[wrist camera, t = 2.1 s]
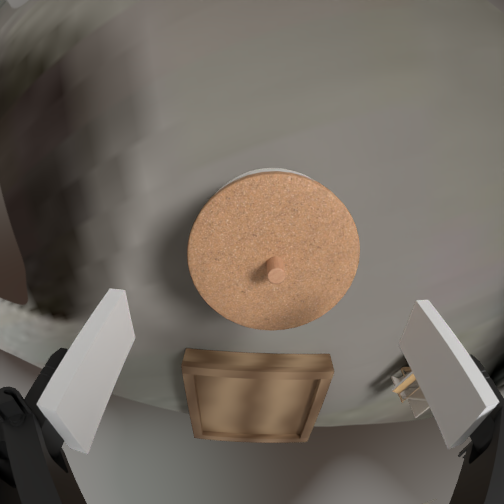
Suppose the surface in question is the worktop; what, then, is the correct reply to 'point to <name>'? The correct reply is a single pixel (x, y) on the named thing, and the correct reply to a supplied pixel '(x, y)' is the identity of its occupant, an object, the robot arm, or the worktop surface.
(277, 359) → the wooden tray
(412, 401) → the architectural model
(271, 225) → the lidded jar
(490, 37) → the worktop surface
